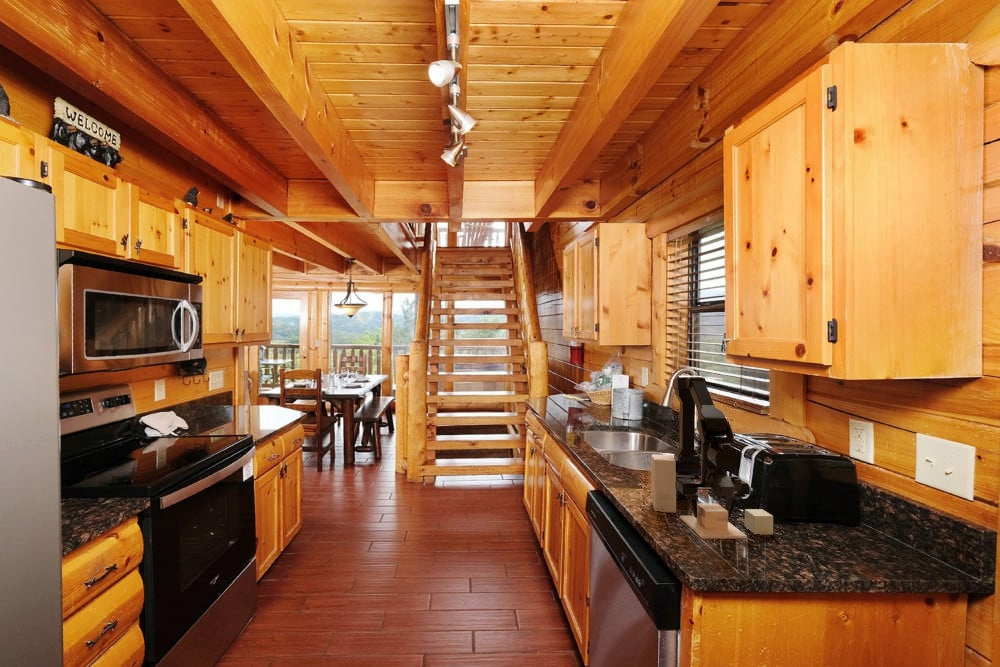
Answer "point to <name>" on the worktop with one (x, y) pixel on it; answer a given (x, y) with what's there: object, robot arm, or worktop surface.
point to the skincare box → (663, 483)
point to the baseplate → (704, 533)
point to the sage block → (758, 521)
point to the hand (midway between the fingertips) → (711, 517)
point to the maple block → (712, 516)
